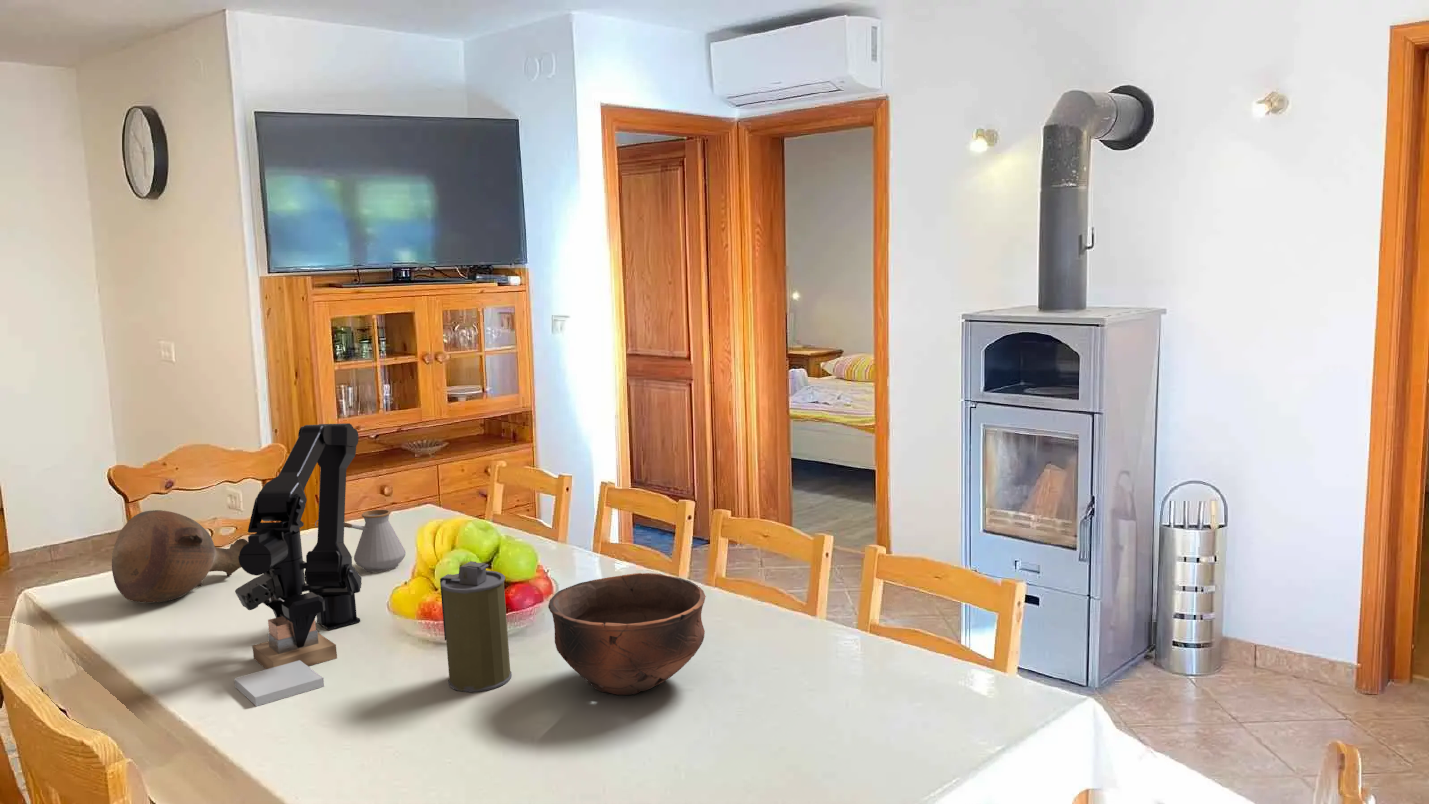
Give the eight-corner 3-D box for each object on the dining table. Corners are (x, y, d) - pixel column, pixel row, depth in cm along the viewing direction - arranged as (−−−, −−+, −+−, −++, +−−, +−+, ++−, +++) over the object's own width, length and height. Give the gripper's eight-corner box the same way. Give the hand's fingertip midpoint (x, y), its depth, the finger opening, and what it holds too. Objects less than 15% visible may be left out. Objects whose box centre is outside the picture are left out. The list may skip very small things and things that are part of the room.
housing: (308, 636, 197) (305, 610, 196) (318, 643, 193) (316, 616, 192) (269, 646, 192) (266, 619, 191) (278, 654, 188) (276, 626, 188)
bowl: (587, 731, 159) (581, 633, 157) (534, 675, 181) (528, 588, 179) (734, 693, 170) (731, 601, 168) (668, 645, 192) (664, 563, 190)
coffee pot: (384, 557, 256) (379, 495, 253) (417, 563, 249) (412, 500, 247) (306, 582, 238) (300, 516, 236) (339, 590, 232) (333, 522, 230)
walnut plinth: (314, 642, 200) (313, 629, 200) (337, 658, 192) (335, 644, 192) (253, 658, 193) (252, 645, 193) (274, 675, 185) (273, 661, 185)
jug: (128, 622, 216) (262, 603, 241) (145, 529, 214) (278, 520, 239) (78, 588, 227) (211, 573, 252) (93, 499, 224) (226, 493, 250)
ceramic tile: (300, 668, 188) (299, 660, 188) (324, 686, 180) (323, 677, 179) (235, 686, 181) (234, 678, 181) (256, 706, 173) (255, 697, 172)
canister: (523, 670, 183) (515, 557, 180) (491, 695, 173) (482, 575, 170) (467, 664, 187) (459, 553, 184) (433, 688, 177) (424, 571, 174)
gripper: (221, 557, 192) (230, 641, 194) (255, 579, 178) (264, 669, 180) (284, 544, 199) (292, 625, 201) (322, 564, 185) (330, 651, 187)
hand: (293, 642), depth 192 cm, fingers open, 6 cm apart
